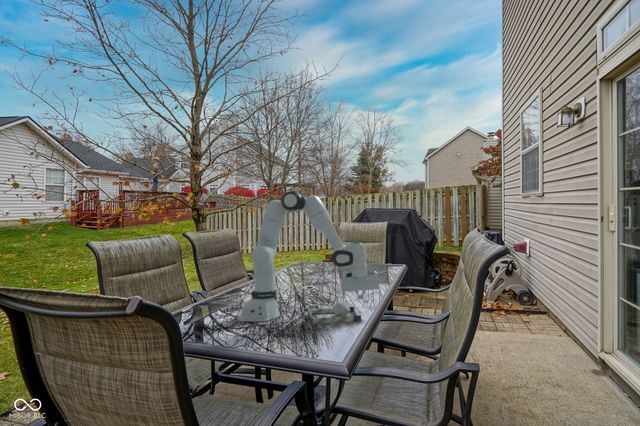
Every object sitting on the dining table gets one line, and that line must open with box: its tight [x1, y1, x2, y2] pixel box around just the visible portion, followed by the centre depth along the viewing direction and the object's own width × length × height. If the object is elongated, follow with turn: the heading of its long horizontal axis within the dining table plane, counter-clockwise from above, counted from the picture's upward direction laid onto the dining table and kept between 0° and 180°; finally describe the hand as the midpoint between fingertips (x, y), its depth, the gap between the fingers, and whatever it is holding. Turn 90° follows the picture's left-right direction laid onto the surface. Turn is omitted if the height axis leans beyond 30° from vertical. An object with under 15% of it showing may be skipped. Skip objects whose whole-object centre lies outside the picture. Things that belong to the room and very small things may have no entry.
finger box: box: [308, 306, 362, 325], centre depth 182 cm, size 25×19×3 cm
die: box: [331, 300, 350, 317], centre depth 182 cm, size 8×9×10 cm
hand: (360, 298), depth 183 cm, fingers closed
